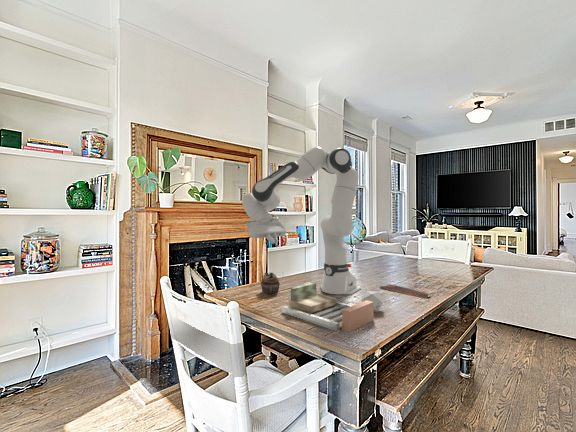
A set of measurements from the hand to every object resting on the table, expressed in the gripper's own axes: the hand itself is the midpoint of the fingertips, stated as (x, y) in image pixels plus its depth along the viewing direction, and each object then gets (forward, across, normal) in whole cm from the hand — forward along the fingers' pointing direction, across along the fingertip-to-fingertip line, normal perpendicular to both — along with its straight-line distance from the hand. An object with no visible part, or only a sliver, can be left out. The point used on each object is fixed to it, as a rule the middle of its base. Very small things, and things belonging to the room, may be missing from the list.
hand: (275, 242), depth 146 cm
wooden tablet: (+45, +57, -7) cm, 73 cm away
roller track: (+40, 0, -3) cm, 40 cm away
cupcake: (+12, +6, +26) cm, 29 cm away
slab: (+33, 0, +1) cm, 33 cm away
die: (+47, +18, -10) cm, 51 cm away
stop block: (+50, 0, -13) cm, 52 cm away
